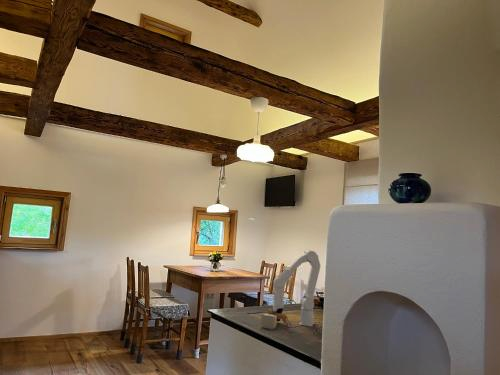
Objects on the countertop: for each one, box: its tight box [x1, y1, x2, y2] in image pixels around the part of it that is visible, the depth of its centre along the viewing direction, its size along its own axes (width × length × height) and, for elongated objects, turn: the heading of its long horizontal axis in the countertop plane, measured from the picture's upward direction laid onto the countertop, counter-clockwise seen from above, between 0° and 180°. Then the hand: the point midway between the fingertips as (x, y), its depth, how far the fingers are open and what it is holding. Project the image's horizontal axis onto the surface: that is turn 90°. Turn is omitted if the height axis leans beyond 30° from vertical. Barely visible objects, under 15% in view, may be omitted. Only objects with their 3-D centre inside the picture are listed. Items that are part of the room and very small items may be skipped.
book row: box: [260, 313, 278, 330], centre depth 216 cm, size 7×7×7 cm
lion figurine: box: [266, 308, 292, 328], centre depth 221 cm, size 15×5×9 cm, turn 71°
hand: (277, 321), depth 225 cm, fingers closed, pressing on lion figurine
